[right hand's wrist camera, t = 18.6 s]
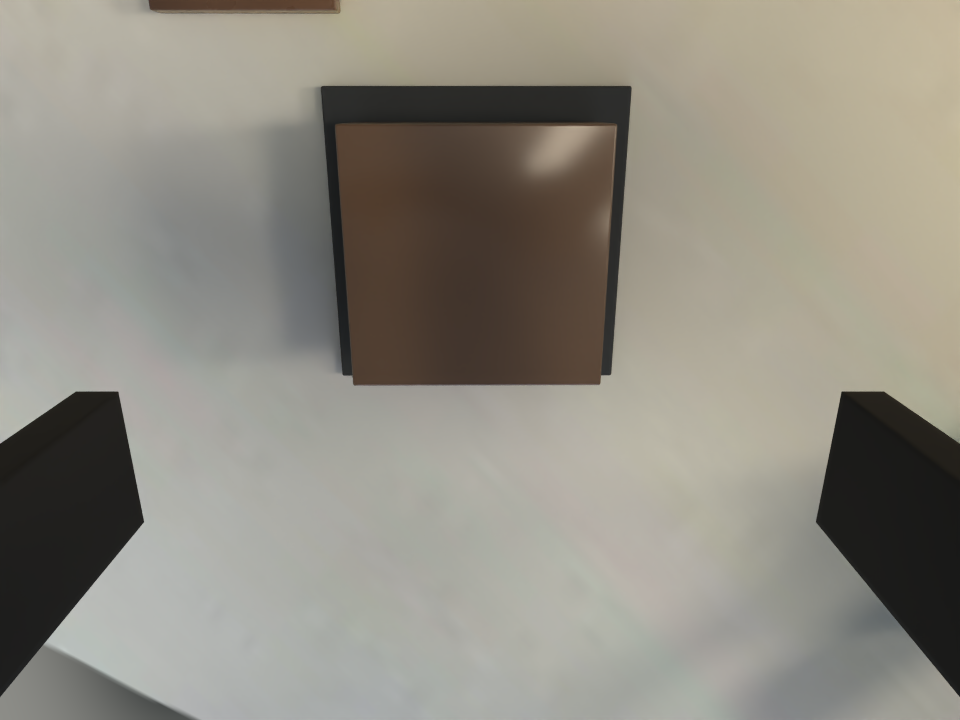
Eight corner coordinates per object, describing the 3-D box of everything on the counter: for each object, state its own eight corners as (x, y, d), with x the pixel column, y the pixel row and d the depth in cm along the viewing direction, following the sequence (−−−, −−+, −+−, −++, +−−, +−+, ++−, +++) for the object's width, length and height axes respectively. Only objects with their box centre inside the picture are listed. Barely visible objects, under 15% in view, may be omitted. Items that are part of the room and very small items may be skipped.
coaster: (629, 86, 31) (631, 86, 30) (609, 371, 36) (611, 375, 35) (323, 86, 31) (320, 86, 30) (344, 371, 36) (342, 376, 35)
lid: (596, 121, 31) (617, 123, 26) (584, 348, 35) (600, 385, 30) (355, 122, 31) (334, 123, 26) (369, 349, 35) (352, 386, 30)
